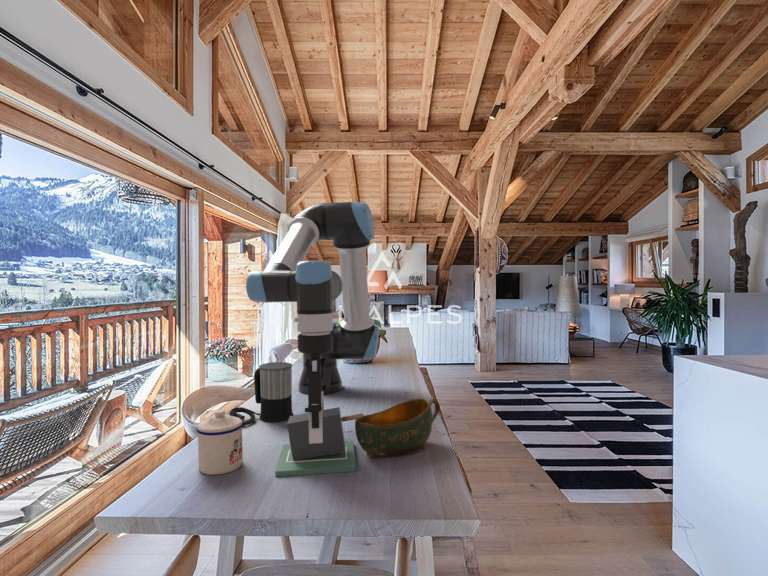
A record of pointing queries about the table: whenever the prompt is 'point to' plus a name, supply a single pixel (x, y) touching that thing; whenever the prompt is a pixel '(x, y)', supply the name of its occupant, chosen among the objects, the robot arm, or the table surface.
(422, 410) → the green gold gravy boat
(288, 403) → the milk frother
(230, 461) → the teacup with lid
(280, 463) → the pin board
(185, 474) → the table surface
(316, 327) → the robot arm
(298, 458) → the block
